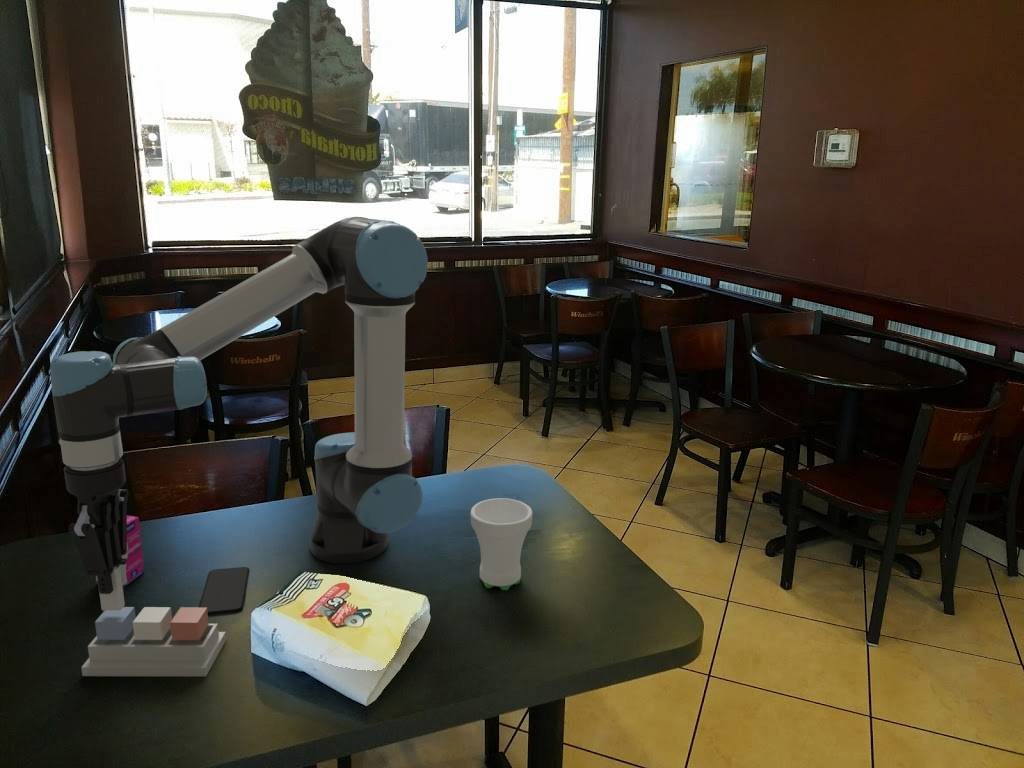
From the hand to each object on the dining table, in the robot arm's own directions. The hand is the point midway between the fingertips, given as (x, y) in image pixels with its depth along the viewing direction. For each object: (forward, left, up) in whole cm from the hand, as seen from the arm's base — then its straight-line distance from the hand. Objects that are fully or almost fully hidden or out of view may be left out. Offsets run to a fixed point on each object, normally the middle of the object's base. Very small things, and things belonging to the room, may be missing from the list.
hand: (113, 607), depth 114 cm
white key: (-6, 0, -4) cm, 7 cm away
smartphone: (-10, -19, -9) cm, 23 cm away
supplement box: (+10, -23, -9) cm, 27 cm away
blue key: (0, 0, -4) cm, 4 cm away
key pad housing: (-6, 0, -9) cm, 10 cm away
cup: (-59, -23, -9) cm, 64 cm away
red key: (-11, 0, -4) cm, 12 cm away
